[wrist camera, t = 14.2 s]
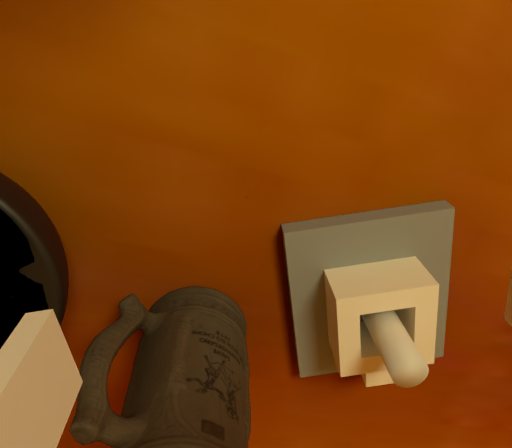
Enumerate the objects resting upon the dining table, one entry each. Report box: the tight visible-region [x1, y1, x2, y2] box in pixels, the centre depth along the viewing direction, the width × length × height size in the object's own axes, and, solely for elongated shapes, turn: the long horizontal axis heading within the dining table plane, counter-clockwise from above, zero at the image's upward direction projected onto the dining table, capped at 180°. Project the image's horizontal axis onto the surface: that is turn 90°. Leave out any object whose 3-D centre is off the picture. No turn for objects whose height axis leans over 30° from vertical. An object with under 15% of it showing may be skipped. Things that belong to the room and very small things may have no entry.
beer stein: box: [69, 286, 251, 448], centre depth 36 cm, size 15×11×20 cm
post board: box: [281, 200, 455, 388], centre depth 39 cm, size 18×16×12 cm
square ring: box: [324, 256, 439, 387], centre depth 41 cm, size 13×9×5 cm
